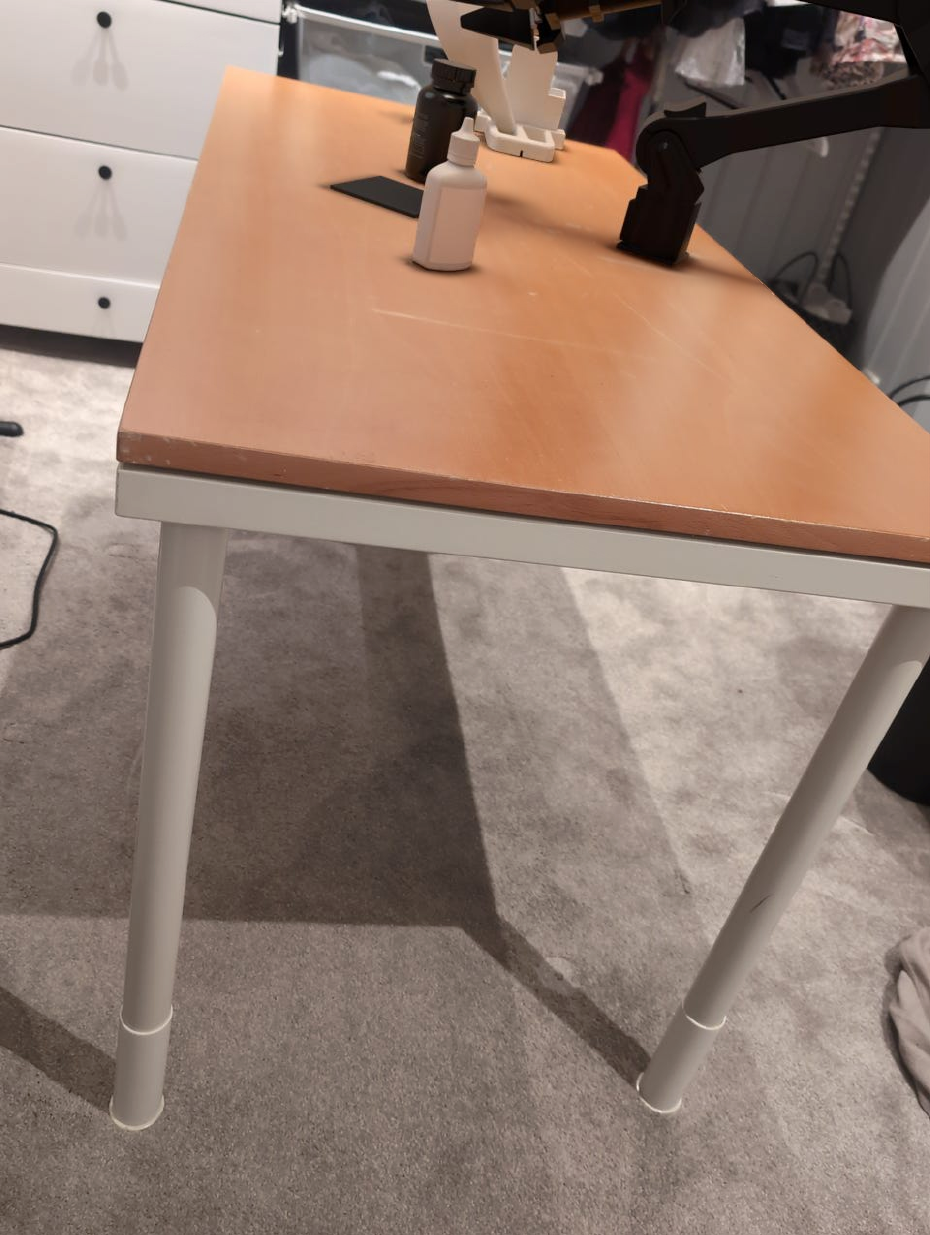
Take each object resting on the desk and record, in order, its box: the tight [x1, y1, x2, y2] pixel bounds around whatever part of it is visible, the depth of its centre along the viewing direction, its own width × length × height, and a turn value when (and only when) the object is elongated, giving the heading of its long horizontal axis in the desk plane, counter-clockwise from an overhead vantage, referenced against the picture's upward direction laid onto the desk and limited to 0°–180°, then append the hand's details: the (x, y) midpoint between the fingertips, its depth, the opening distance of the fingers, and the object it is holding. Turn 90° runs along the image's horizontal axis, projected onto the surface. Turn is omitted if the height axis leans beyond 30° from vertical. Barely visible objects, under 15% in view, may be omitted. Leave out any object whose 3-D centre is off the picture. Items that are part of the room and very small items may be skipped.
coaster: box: [329, 175, 424, 219], centre depth 107 cm, size 10×10×1 cm
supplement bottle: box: [404, 58, 479, 184], centre depth 113 cm, size 7×7×12 cm
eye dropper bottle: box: [412, 117, 488, 272], centre depth 87 cm, size 4×6×12 cm
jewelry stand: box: [425, 0, 567, 163], centre depth 137 cm, size 25×16×25 cm, turn 91°
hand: (450, 7), depth 100 cm, fingers open, 9 cm apart
